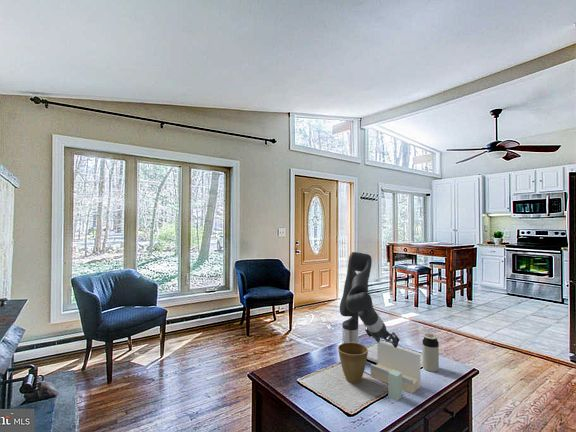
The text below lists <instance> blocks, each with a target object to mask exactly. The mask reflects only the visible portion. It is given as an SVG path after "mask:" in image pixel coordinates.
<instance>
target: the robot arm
mask: <svg viewBox="0 0 576 432" xmlns="http://www.w3.org/2000/svg"><path fill="white" fill-rule="evenodd" d="M372 260H373V259H372V256H371V255H370V254H368V253H363V252H357V251H352V252H350V254H349V256H348V261H347V271H346V276H345V277H346V278H345V282H344V286H343V292H342V293H343V294H342V297H341V301H340V302H339V313H340V315H341V316H343V317H349V318H348V319H347V320H344V321H342V325H341V326H342V331H341V332H342V333H341V335H342V338H341V340H342V341H341V344H343V343H359V319H360V321H362V323H363V325H364V327H365V329H364V331H365V333H366V334H367V336H368V337H372V339H373V340H375V341H376V342H377V344H378V343H379V342H380V341H381V339H382V340H383V341H385V342H386V343H389V344H392V345H393V346H394V347H395V348H397V346H398V347H399V342H400V338H399V337H398V335H397V334H396V333H395V332H392V333H391V332H389V331H388V330H387V326H386V324H385V323H384V320H382V319H381V318H382V317H380V315H379V314H378V313H377V312H376V310H375V308H374V305H373V299H372V296H371V294H370V293H369V279H370V275H371V269H372V262H373V261H372ZM357 272H359V273H357Z"/></svg>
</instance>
